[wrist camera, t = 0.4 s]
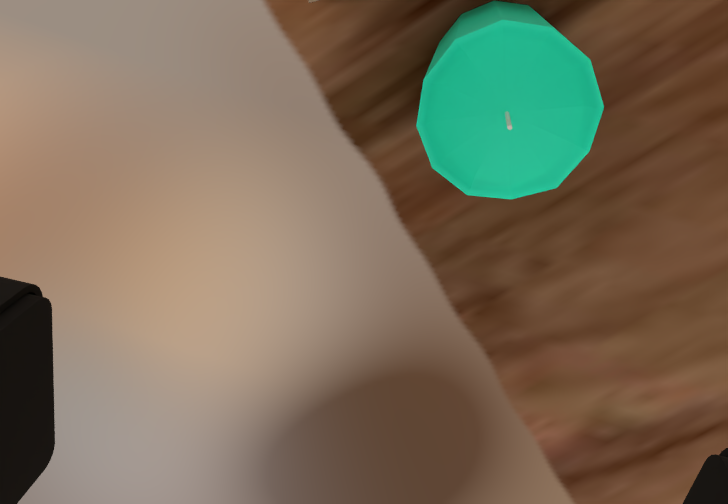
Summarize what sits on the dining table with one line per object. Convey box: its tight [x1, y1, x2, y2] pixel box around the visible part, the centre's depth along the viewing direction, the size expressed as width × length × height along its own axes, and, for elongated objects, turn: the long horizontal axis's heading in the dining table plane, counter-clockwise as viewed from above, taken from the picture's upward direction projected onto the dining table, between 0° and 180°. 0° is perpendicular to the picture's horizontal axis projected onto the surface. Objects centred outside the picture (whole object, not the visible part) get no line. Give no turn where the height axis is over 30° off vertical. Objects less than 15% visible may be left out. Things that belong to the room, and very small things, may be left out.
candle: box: [416, 0, 604, 199], centre depth 25 cm, size 6×6×12 cm
